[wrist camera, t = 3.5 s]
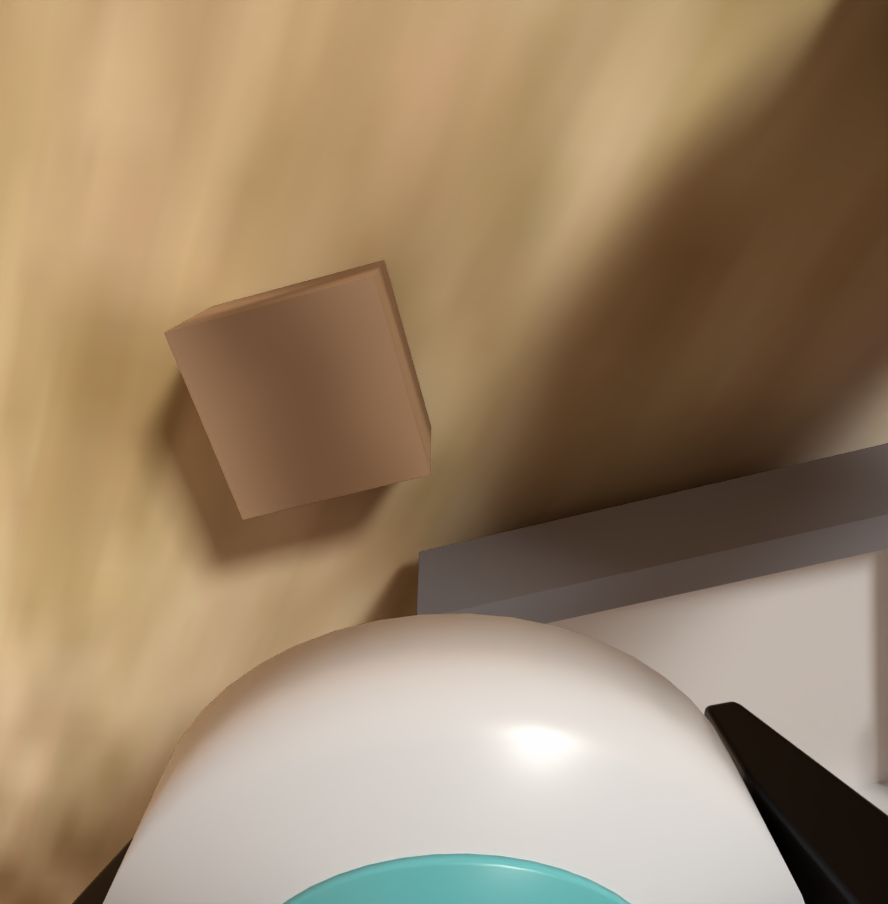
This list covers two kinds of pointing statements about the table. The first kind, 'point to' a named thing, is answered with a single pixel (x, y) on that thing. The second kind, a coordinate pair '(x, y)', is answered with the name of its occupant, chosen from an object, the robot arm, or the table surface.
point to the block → (307, 390)
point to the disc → (452, 780)
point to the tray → (720, 597)
